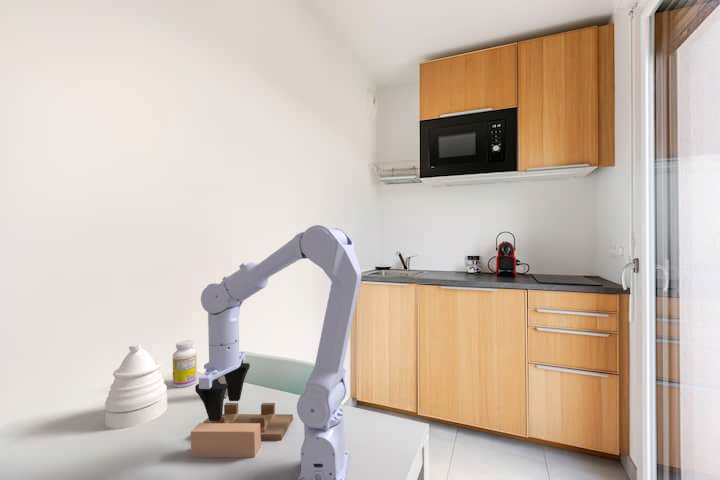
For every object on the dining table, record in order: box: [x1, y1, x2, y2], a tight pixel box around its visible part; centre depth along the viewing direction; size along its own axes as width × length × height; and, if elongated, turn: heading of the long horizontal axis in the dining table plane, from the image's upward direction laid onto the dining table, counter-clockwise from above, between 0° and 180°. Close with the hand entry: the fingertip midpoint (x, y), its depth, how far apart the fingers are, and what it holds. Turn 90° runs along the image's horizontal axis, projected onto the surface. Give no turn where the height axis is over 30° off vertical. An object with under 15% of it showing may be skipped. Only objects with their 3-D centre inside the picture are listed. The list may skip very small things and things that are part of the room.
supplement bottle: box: [172, 339, 198, 388], centre depth 98 cm, size 7×7×13 cm
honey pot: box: [104, 342, 168, 430], centre depth 80 cm, size 13×13×18 cm
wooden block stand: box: [202, 402, 294, 441], centre depth 71 cm, size 8×20×4 cm, turn 85°
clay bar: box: [190, 422, 262, 458], centre depth 63 cm, size 3×13×5 cm, turn 86°
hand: (225, 409), depth 63 cm, fingers open, 7 cm apart
